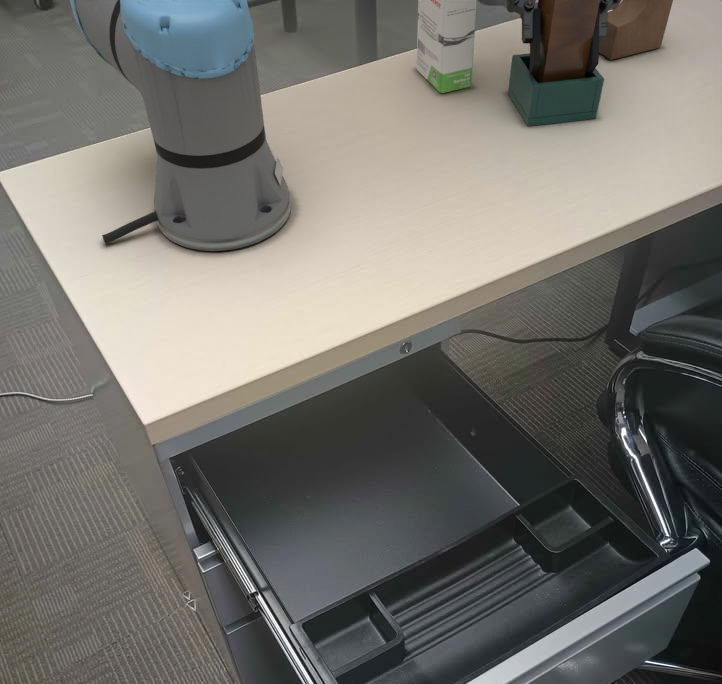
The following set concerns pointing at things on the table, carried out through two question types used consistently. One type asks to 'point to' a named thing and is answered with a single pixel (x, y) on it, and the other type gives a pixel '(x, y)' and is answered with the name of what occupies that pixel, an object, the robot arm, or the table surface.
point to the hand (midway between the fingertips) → (563, 68)
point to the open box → (553, 95)
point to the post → (565, 38)
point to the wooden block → (635, 27)
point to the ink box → (446, 42)
